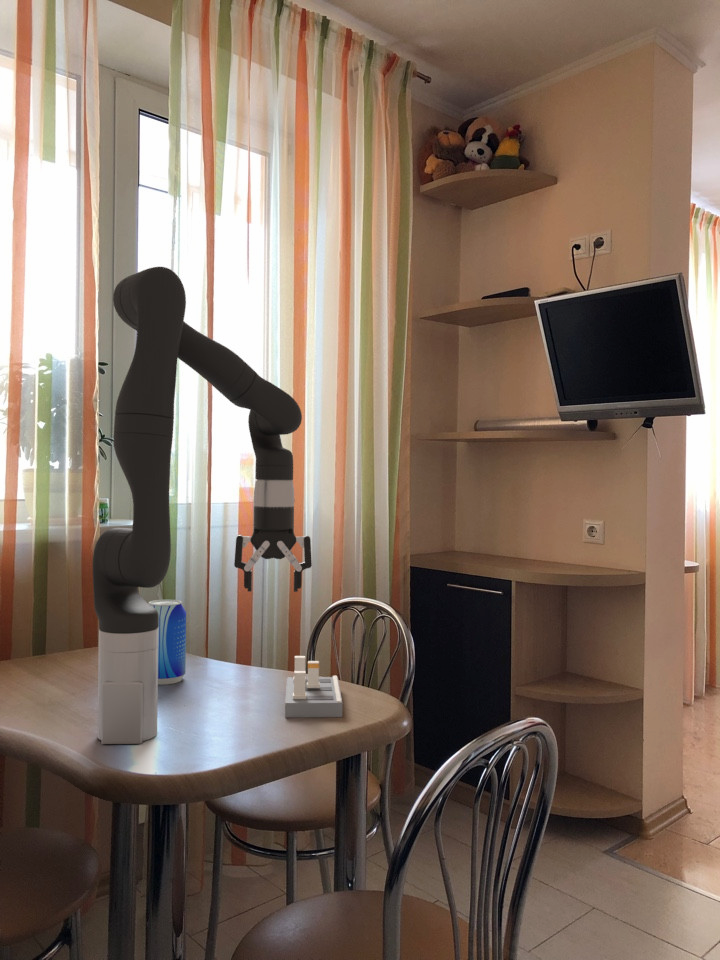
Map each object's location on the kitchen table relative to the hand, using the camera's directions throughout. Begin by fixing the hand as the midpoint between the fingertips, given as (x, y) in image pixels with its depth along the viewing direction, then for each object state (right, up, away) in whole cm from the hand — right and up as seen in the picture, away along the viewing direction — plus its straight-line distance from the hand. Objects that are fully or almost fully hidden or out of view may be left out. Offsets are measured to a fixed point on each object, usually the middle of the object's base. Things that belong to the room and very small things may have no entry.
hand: (272, 591), depth 151 cm
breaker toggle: (+8, -18, -1) cm, 19 cm away
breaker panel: (+8, -21, -1) cm, 22 cm away
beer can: (-24, -20, +14) cm, 34 cm away
